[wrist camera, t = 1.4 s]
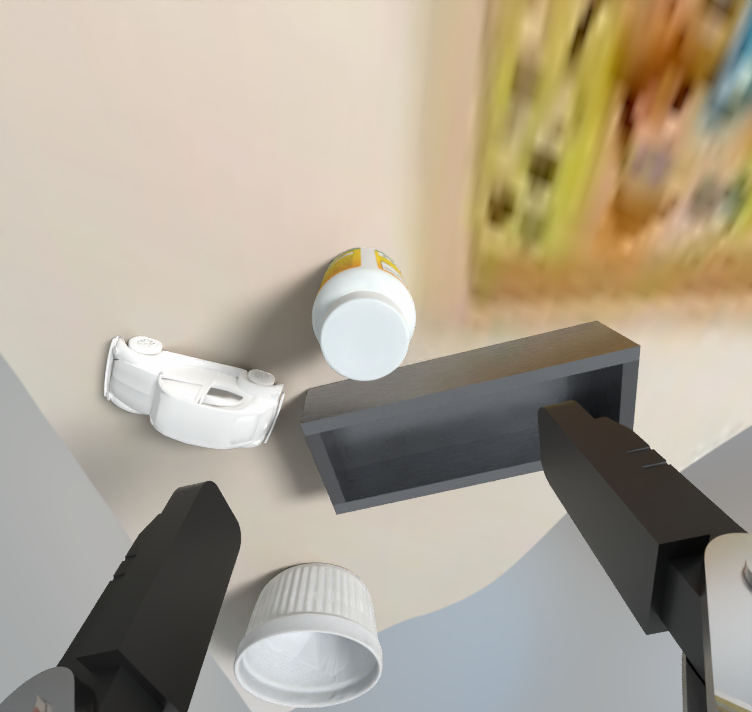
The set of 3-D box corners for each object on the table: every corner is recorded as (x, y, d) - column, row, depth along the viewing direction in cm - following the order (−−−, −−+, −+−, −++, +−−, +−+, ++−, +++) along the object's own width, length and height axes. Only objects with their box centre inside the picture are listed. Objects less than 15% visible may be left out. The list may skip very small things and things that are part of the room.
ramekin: (266, 635, 42) (251, 716, 35) (238, 559, 36) (214, 639, 30) (382, 623, 42) (387, 701, 36) (373, 546, 36) (376, 622, 30)
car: (292, 377, 28) (281, 412, 24) (268, 438, 30) (254, 480, 26) (124, 320, 25) (78, 348, 21) (113, 392, 28) (70, 430, 23)
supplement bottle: (408, 251, 24) (437, 290, 15) (395, 327, 26) (415, 399, 18) (325, 240, 23) (308, 275, 15) (319, 319, 26) (301, 389, 17)
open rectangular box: (308, 388, 28) (299, 424, 24) (597, 320, 27) (640, 345, 23) (338, 471, 32) (336, 514, 28) (594, 415, 30) (631, 451, 26)
